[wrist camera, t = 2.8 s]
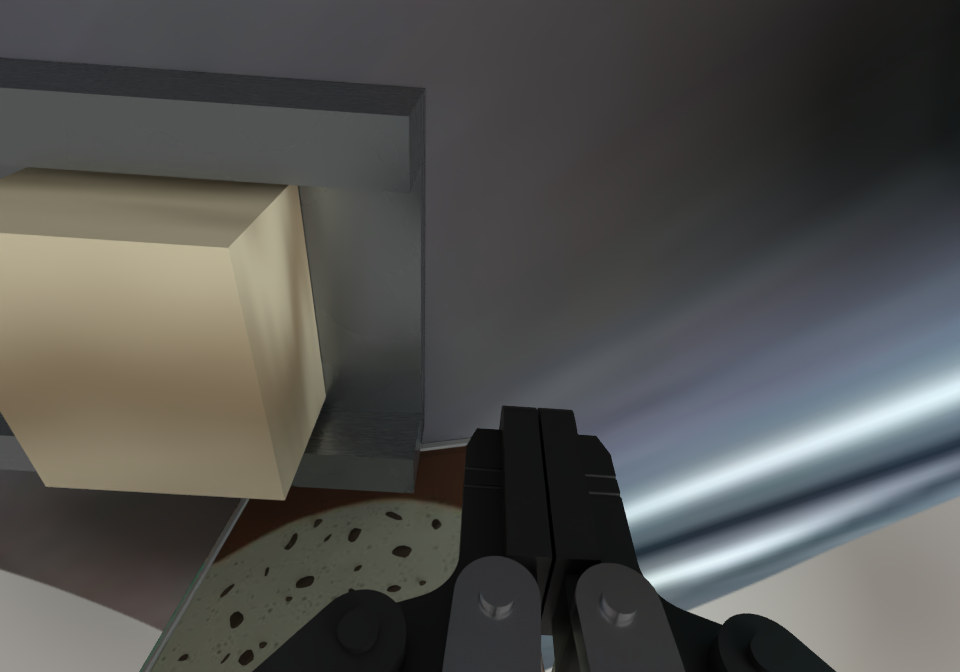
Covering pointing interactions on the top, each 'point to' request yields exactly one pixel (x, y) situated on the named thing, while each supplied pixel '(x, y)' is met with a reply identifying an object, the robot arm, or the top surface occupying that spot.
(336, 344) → the chute
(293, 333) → the beech block
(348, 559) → the food container
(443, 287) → the top surface
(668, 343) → the top surface
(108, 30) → the top surface
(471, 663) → the robot arm
